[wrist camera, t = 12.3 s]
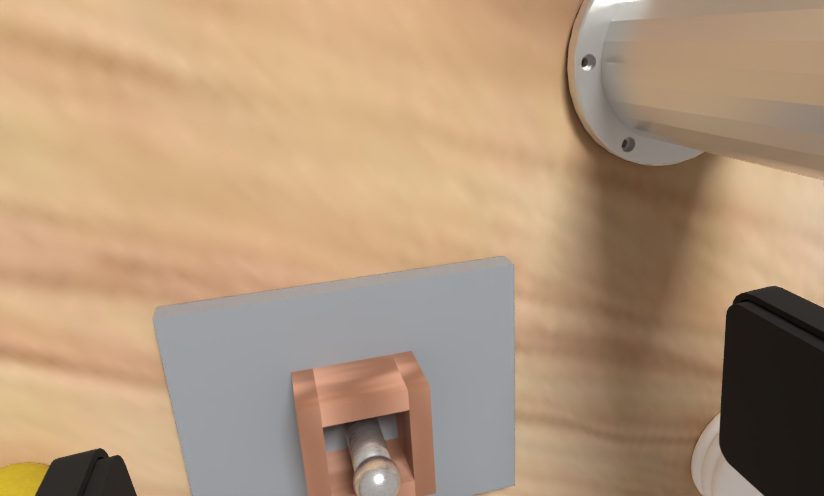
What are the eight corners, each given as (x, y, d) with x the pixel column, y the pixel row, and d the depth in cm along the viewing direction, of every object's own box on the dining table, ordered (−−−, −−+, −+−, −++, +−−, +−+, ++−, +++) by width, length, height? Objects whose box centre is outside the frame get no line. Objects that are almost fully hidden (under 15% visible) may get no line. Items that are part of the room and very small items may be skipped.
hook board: (504, 255, 37) (514, 264, 36) (506, 471, 42) (514, 485, 41) (156, 307, 33) (152, 318, 31) (207, 539, 38) (206, 557, 37)
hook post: (376, 392, 36) (404, 471, 29) (379, 426, 37) (407, 510, 30) (335, 399, 35) (355, 481, 29) (339, 434, 36) (359, 521, 30)
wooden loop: (411, 350, 36) (430, 386, 32) (418, 449, 38) (436, 493, 34) (291, 372, 34) (296, 411, 30) (305, 473, 36) (312, 522, 33)
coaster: (751, 367, 45) (790, 392, 42) (817, 425, 49) (857, 452, 46) (663, 467, 46) (694, 499, 43) (735, 516, 50) (768, 549, 47)
